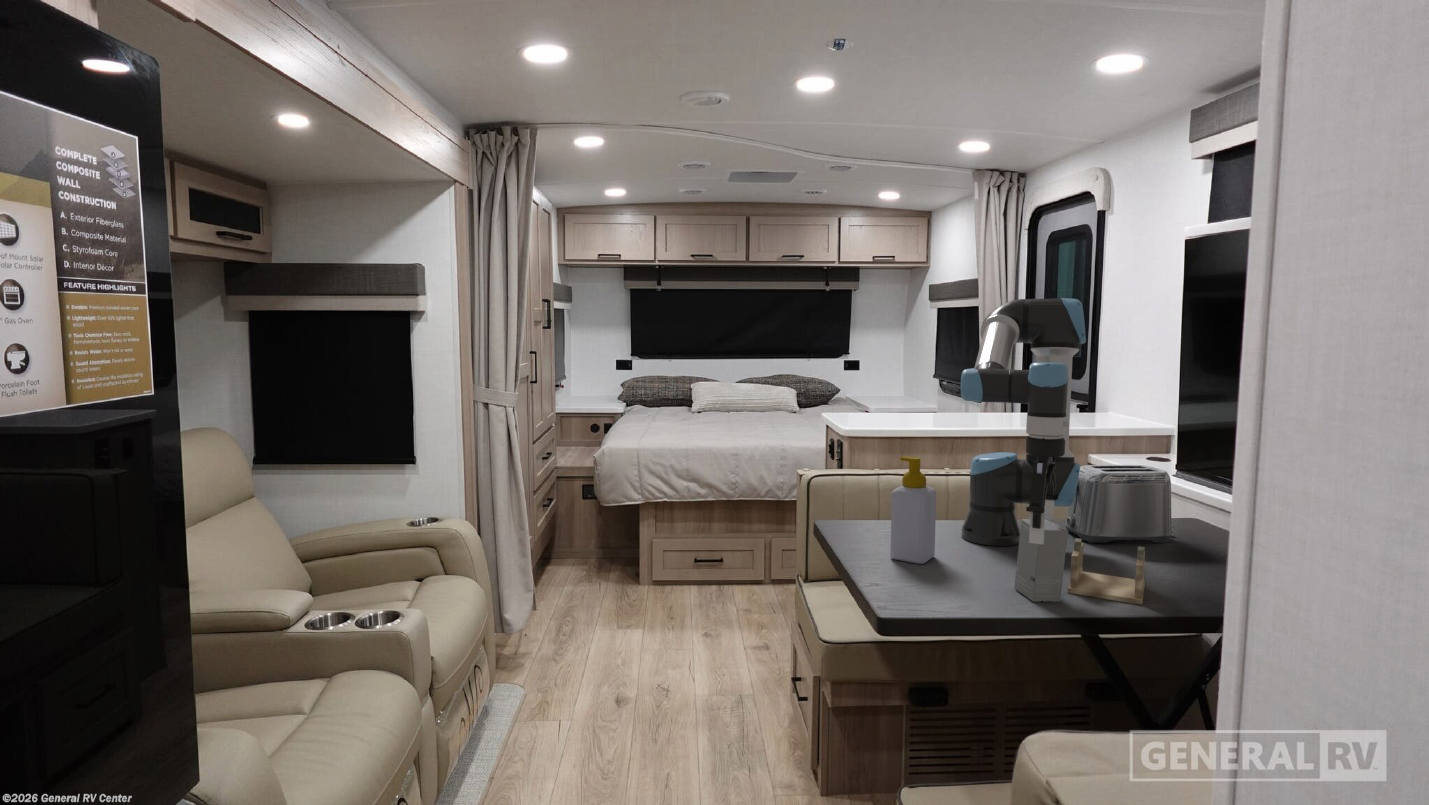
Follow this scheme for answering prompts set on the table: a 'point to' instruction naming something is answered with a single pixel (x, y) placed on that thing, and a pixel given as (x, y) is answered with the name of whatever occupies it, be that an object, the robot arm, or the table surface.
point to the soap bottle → (913, 517)
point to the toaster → (1121, 504)
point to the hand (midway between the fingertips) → (1041, 536)
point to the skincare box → (1041, 563)
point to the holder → (1106, 580)
